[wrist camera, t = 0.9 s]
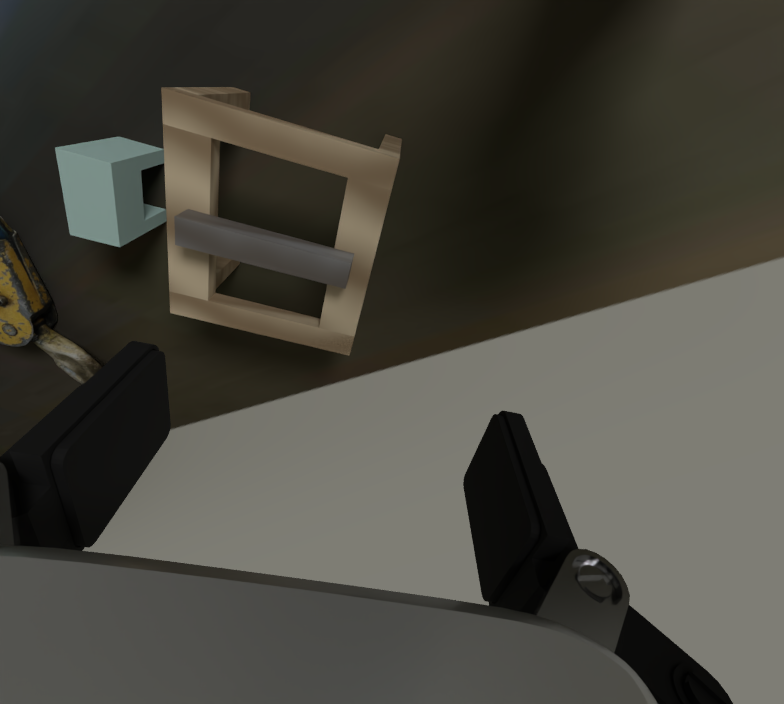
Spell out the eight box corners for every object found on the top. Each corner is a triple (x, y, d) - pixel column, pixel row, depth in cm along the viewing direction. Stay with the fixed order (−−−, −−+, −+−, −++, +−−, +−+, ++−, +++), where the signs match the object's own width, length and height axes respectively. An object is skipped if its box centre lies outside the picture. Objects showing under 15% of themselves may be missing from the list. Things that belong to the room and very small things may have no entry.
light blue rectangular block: (118, 136, 37) (55, 147, 30) (163, 149, 38) (110, 162, 31) (125, 210, 41) (70, 234, 34) (166, 221, 41) (119, 247, 34)
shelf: (232, 87, 35) (143, 87, 23) (401, 139, 36) (398, 163, 25) (225, 260, 43) (157, 324, 32) (362, 295, 45) (346, 369, 33)
